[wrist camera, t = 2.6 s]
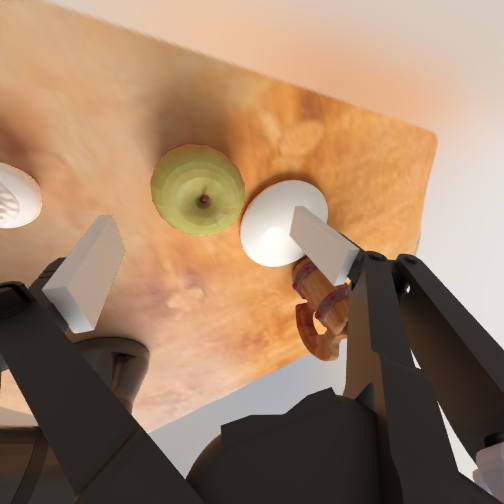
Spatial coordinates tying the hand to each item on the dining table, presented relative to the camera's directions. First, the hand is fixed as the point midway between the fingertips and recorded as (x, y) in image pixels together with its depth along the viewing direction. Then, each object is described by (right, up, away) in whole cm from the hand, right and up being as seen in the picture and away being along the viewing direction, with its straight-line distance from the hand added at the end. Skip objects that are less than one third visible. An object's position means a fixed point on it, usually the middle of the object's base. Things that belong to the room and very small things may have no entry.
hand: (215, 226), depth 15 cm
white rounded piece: (-21, +5, +5) cm, 22 cm away
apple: (-4, +7, +10) cm, 13 cm away
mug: (+13, -7, +26) cm, 30 cm away
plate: (+8, +2, +18) cm, 19 cm away
